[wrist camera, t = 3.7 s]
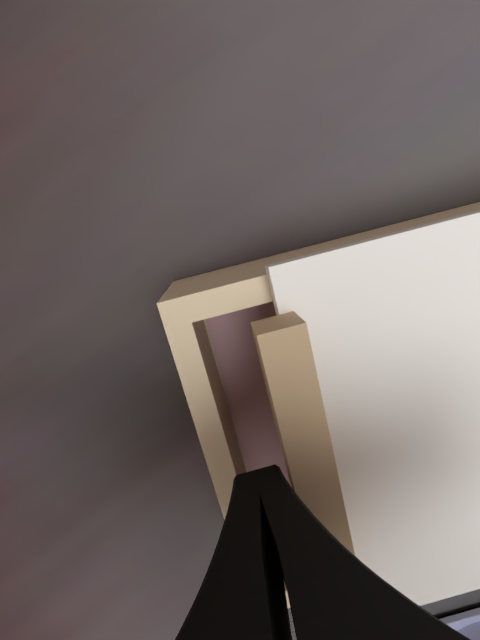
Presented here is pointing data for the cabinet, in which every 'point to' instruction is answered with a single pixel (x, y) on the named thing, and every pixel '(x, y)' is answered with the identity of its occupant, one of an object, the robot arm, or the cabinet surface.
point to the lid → (385, 398)
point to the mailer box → (237, 358)
